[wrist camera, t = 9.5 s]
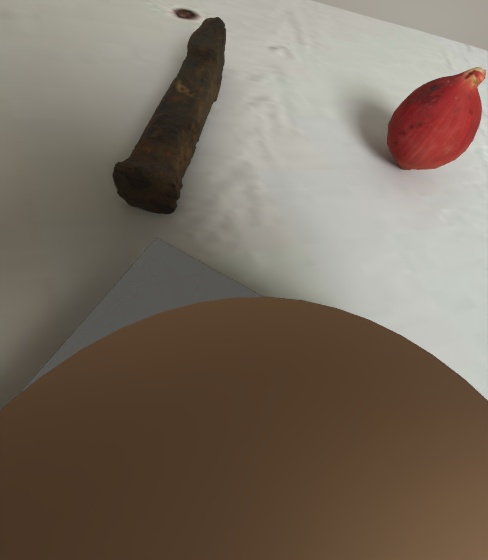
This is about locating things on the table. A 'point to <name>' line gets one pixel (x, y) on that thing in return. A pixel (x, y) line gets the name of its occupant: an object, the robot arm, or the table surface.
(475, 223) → the table surface
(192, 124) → the hand tool
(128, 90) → the table surface
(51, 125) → the table surface
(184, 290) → the socket block
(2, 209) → the table surface
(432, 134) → the red pomegranate
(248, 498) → the walnut pin
